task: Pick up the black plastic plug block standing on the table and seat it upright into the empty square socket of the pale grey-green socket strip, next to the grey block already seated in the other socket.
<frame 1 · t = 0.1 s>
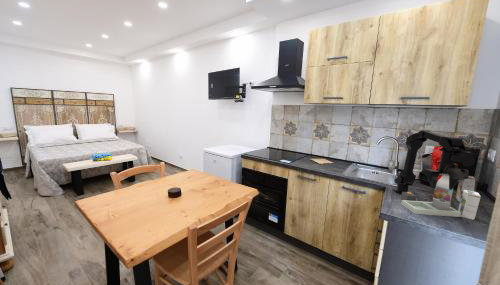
hand: (441, 189, 108), 15 cm above the table, fingers open, 9 cm apart
syrup box: (465, 217, 109), on the table
socket strip: (428, 211, 113), on the table
plug block: (407, 203, 123), on the table
coffee box: (463, 201, 130), on the table
twin plug block: (439, 210, 113), resting on socket strip
milk bottle: (440, 203, 125), on the table
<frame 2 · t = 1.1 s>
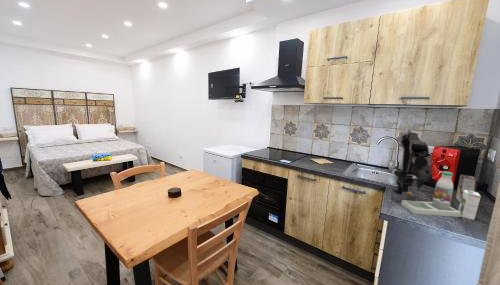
hand: (410, 188, 122), 10 cm above the table, fingers open, 9 cm apart
nothing on the table moved.
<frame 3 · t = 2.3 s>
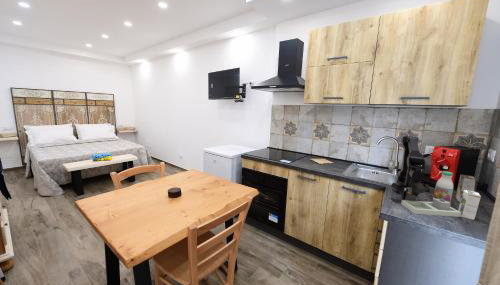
hand: (407, 200, 123), 2 cm above the table, fingers closed on plug block, 5 cm apart
plug block: (407, 202, 123), on the table, touching gripper
everything else where it was.
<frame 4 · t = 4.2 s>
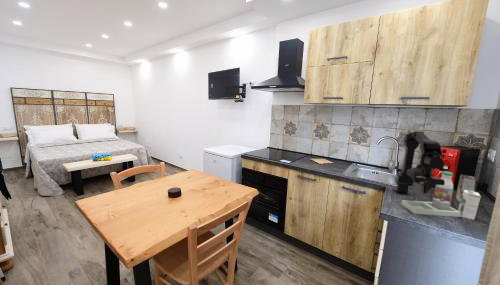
hand: (421, 191, 112), 11 cm above the table, fingers closed on plug block, 5 cm apart
plug block: (420, 194, 112), point 10 cm above the table, touching gripper
everything else where it was.
when the fingers open (4 cm above the table, at t = 6.0 s): plug block drops 1 cm, resting on socket strip.
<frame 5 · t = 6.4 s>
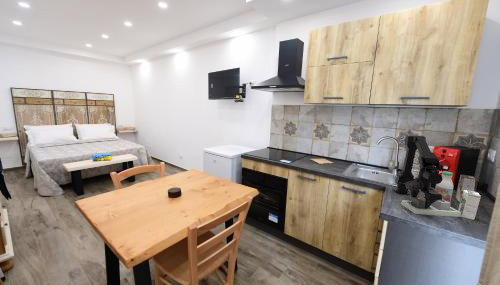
hand: (419, 204, 113), 4 cm above the table, fingers open, 9 cm apart
plug block: (418, 209, 113), point 1 cm above the table, touching socket strip
everything else where it was.
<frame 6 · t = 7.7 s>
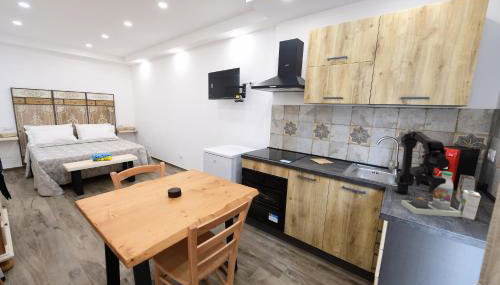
hand: (423, 189, 116), 11 cm above the table, fingers open, 9 cm apart
nothing on the table moved.
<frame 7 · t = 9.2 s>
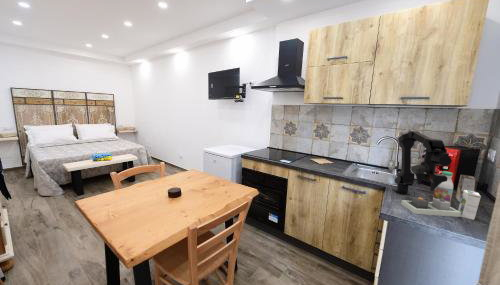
hand: (424, 187, 117), 12 cm above the table, fingers open, 9 cm apart
nothing on the table moved.
at the end: plug block inside the target area on the socket strip (0.1 cm from its centre), point 1.0 cm above the socket strip's base; plug block tilted 0°; the gripper is holding nothing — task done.
